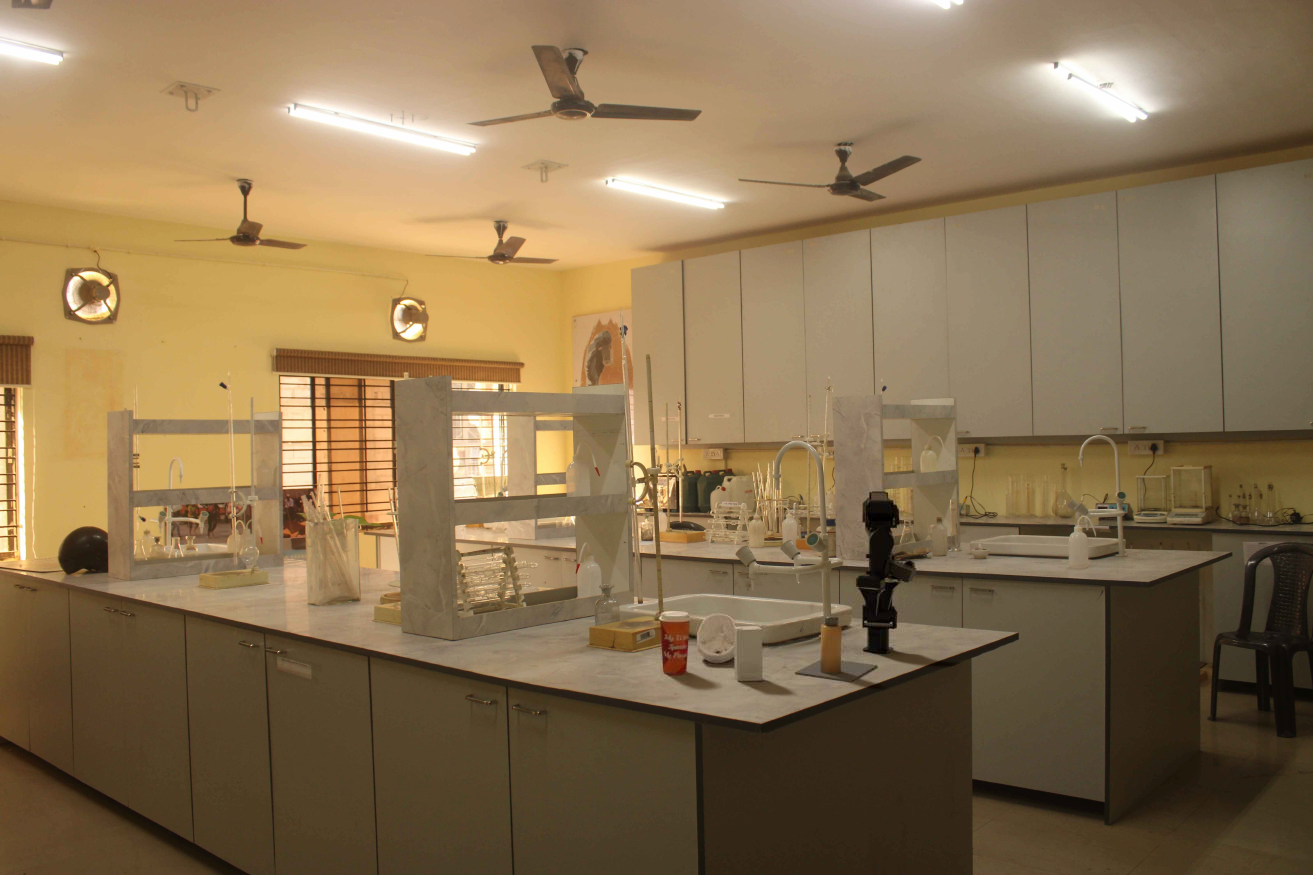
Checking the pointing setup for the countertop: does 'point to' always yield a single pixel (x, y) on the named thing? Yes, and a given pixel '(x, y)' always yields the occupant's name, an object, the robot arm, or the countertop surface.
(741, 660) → the skincare box
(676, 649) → the paper cup
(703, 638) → the skull bowl
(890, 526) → the robot arm
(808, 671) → the rubber mat
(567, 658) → the countertop surface
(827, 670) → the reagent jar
